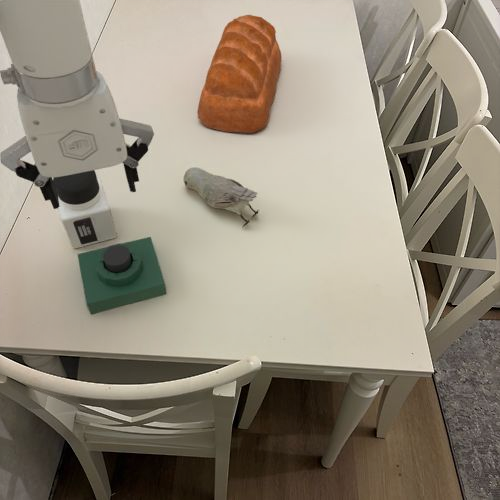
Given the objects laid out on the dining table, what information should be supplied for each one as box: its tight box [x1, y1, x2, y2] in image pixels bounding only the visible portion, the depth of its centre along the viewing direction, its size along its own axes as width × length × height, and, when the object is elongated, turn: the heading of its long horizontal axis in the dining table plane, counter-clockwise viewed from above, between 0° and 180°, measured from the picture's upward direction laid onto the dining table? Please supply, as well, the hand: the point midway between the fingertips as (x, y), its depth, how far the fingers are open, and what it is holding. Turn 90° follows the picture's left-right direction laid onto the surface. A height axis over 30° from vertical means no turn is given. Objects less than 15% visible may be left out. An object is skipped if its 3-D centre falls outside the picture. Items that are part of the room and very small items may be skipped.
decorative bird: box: [183, 167, 260, 230], centre depth 87 cm, size 5×16×8 cm, turn 55°
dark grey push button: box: [103, 244, 132, 273], centre depth 75 cm, size 4×4×2 cm
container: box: [52, 170, 118, 249], centre depth 80 cm, size 8×8×13 cm
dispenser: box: [77, 236, 167, 315], centre depth 77 cm, size 12×10×5 cm
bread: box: [197, 14, 283, 134], centre depth 108 cm, size 16×31×13 cm, turn 170°
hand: (94, 192), depth 63 cm, fingers open, 9 cm apart
